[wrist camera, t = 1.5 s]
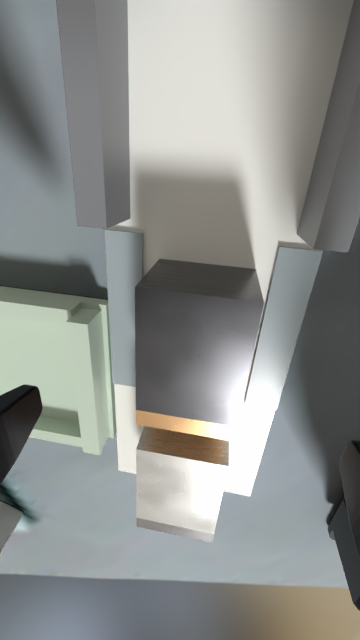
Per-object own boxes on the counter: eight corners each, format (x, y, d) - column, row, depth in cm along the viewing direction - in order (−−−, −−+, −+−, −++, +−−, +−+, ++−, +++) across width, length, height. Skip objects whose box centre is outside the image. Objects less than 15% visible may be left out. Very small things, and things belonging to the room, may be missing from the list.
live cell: (255, 269, 12) (264, 302, 9) (233, 384, 14) (233, 441, 11) (159, 258, 12) (134, 286, 9) (155, 372, 15) (135, 424, 12)
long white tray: (408, -76, 8) (508, -218, 5) (249, 487, 19) (252, 540, 16) (98, -69, 9) (36, -183, 6) (121, 462, 20) (103, 509, 17)
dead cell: (229, 407, 15) (228, 466, 12) (215, 479, 18) (211, 542, 15) (155, 394, 16) (136, 449, 12) (152, 467, 18) (136, 526, 15)
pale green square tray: (110, 300, 14) (92, 319, 12) (117, 430, 18) (104, 459, 16) (-54, 279, 15) (-94, 293, 13) (-12, 407, 19) (-38, 431, 17)
